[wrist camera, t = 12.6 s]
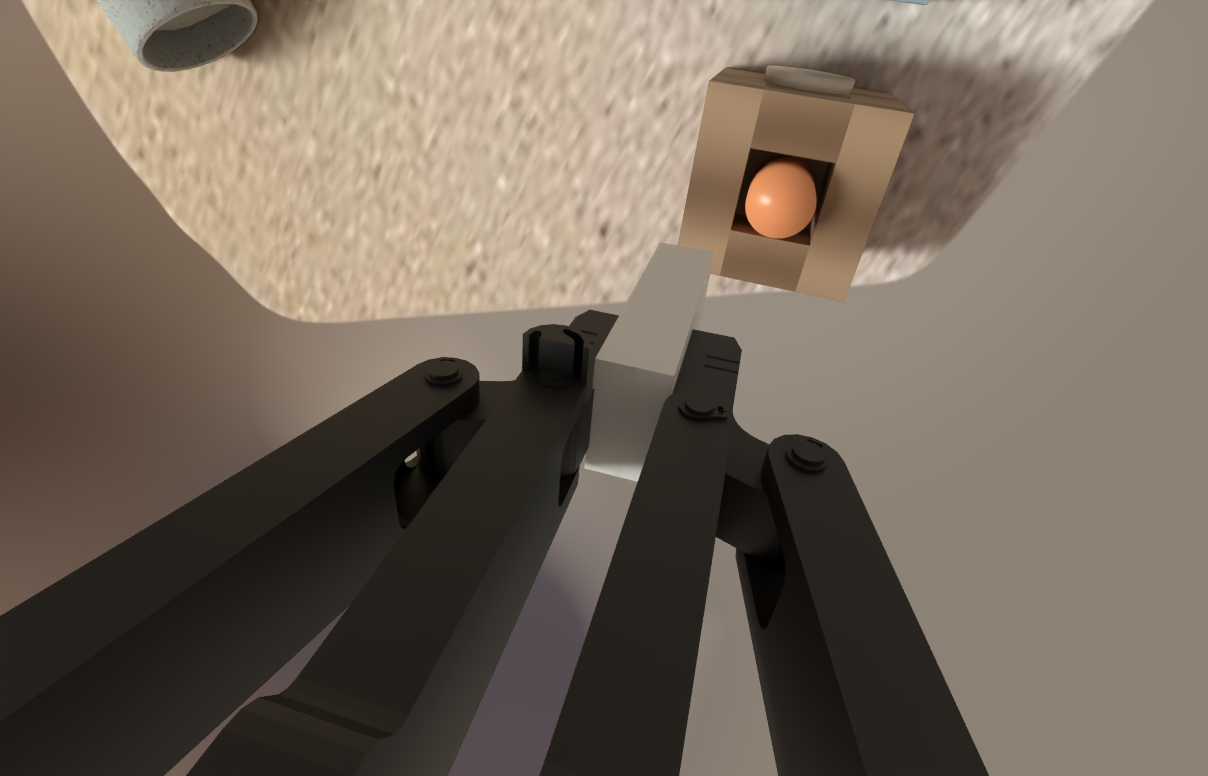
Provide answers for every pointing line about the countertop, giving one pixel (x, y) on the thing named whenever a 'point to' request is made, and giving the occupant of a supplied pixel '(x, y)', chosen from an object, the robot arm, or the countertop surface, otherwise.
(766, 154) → the wooden box
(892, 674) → the robot arm
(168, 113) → the countertop surface
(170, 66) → the ceramic mug
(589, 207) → the countertop surface
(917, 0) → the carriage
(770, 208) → the orange rounded cylinder
